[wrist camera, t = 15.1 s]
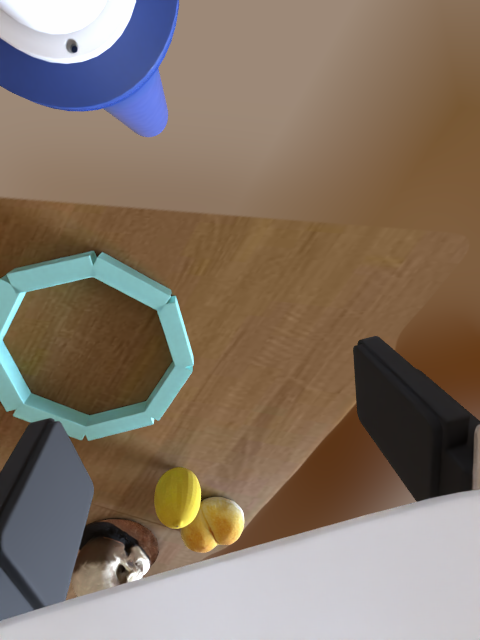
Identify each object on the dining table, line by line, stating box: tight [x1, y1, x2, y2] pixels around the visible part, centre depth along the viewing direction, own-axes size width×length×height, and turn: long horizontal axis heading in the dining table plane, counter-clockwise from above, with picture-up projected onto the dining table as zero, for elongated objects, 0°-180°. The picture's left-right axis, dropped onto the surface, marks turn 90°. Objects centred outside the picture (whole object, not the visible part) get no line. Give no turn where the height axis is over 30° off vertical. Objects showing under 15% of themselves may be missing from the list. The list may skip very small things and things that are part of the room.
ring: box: [0, 251, 194, 441], centre depth 37 cm, size 20×20×2 cm
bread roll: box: [180, 497, 244, 553], centre depth 49 cm, size 8×9×4 cm
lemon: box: [154, 467, 201, 529], centre depth 42 cm, size 6×6×8 cm
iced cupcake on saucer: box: [71, 519, 158, 597], centre depth 48 cm, size 12×10×10 cm
